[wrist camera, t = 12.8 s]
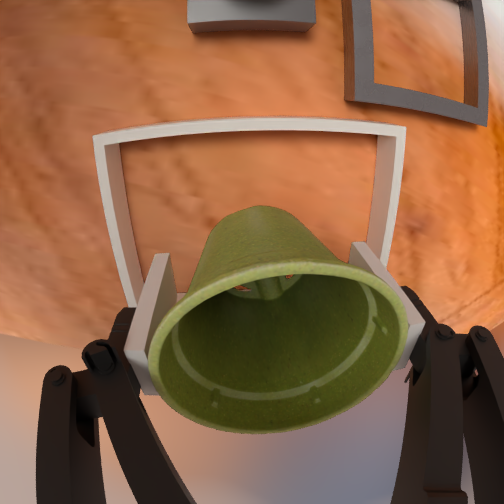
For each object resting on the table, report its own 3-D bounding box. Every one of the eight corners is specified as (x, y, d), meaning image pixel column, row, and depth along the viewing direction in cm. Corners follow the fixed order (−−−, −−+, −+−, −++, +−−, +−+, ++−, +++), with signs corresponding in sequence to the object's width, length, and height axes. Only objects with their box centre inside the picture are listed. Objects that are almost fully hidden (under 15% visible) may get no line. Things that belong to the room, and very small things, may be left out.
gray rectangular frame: (140, 301, 27) (133, 322, 24) (108, 130, 20) (92, 135, 17) (365, 287, 28) (377, 305, 26) (387, 122, 21) (406, 127, 18)
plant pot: (212, 144, 14) (199, 211, 7) (365, 214, 17) (451, 309, 9) (157, 289, 18) (130, 412, 11) (290, 328, 21) (319, 439, 13)
